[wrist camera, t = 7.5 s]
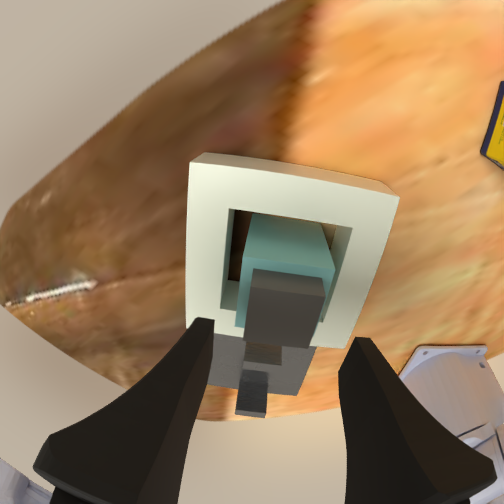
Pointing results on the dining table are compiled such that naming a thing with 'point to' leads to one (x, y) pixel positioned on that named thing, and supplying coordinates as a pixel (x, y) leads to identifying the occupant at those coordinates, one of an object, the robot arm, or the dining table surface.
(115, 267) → the dining table surface
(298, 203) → the port
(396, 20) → the dining table surface
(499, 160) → the supplement box
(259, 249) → the plug
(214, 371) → the grey socket plate
